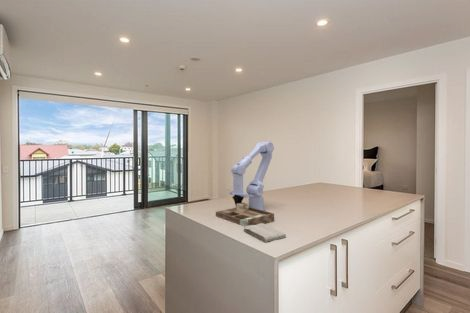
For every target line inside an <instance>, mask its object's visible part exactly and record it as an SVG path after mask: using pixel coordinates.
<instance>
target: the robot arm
mask: <svg viewBox="0 0 470 313" xmlns="http://www.w3.org/2000/svg"><path fill="white" fill-rule="evenodd" d="M274 149H275V147H274V144H273V142H272V141H258V142H257V143H256V144H255V147H254V148H253V149H252V150H251V151H250V152H249V154H248V155H245V156H242V158H241V160H240V161H238V162H237V163H236V164H234V165H233V166H232V168H231V170H230V171H231V173H232V176H233V178H232V179H233V182H232V184H233V190H229V191H228V192H229V195H232V199H233V201H234V205H235V206H236V204H237V203H242V202H243V201H244V198H245V199H246V198H248V204H249V207H251V208H255V209H259V210H262V211H266V209H265V198H264V196H263V192H264V184H263V181H264V179H265V176H266V174H267V170H268V168H269V166H270V163H271V160H272V158H273V157H272V156H273V152H274ZM259 154H260V156H261V157H262V158H261V161H260V162H259V166H258V169H257V171H256V173H255V174H254V177H253V180H251V181H250V182H249V184H248V185H247V186H246V188H245V189H246V193H245V192H244V174H245V173H246V169H247V168H248V167H249V166H250V165H251V164H252V160H253V159H254V158H255V157H257V156H258V155H259Z"/></svg>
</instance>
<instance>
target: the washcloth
mask: <svg viewBox="0 0 470 313" xmlns="http://www.w3.org/2000/svg"><path fill="white" fill-rule="evenodd" d="M243 231H244V232H245V233H246V234H248V235H250V236H252V237H253V238H255V239H257V240H259V241H261V242H263V243H267V242H272V241H276V240H281V239H285V238H286V237H287V234H286V233H285V232H283V231H281V230H279V229H277V228H275V227H273V226H270V225H268V224H267V223H266V224H264V223H260V224H257V225H249V226H243Z"/></svg>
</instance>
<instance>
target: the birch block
mask: <svg viewBox="0 0 470 313" xmlns="http://www.w3.org/2000/svg"><path fill="white" fill-rule="evenodd" d="M235 208H236V210H237V211H240V212H245V211H249V203H246V202H243V201H242V203H237V204H236V205H235Z"/></svg>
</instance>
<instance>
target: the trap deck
mask: <svg viewBox="0 0 470 313" xmlns="http://www.w3.org/2000/svg"><path fill="white" fill-rule="evenodd" d="M215 217H218V218H220V219H223V220H226V221H228V222H230V223H231V222H232V223H234V224H237V225H240V226H243V227H245V226H249V225H257V224H260V223H264V224H266V225H267V224H269V223H272V222H275V213H274V212H269V211H266V210H263V211H262V210H259V209H255V208H251V207H249V211H245V212H240V211H237V210H236V207H232V208H228V209H223V210H218V211H215Z"/></svg>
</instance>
